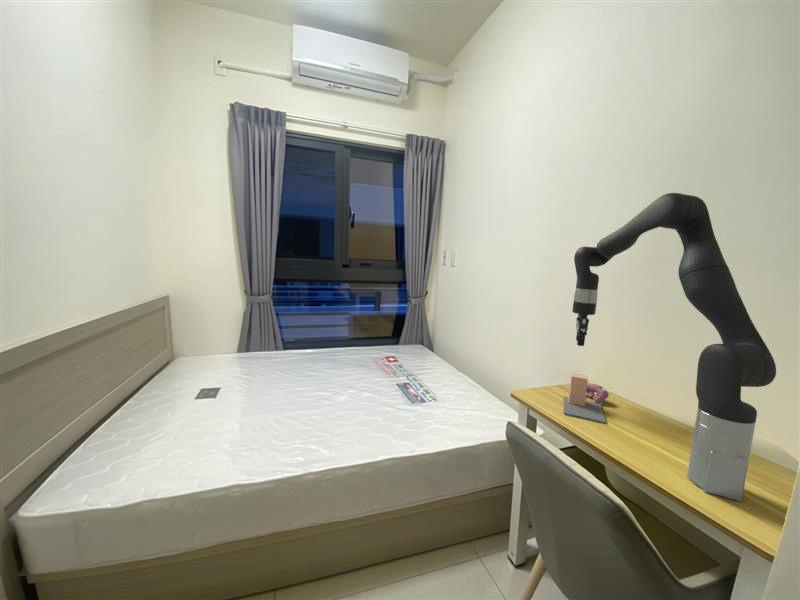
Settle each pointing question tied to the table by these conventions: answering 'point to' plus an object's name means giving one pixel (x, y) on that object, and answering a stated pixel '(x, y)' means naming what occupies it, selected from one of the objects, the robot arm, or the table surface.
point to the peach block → (578, 389)
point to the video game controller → (598, 389)
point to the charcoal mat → (585, 411)
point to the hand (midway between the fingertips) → (579, 343)
